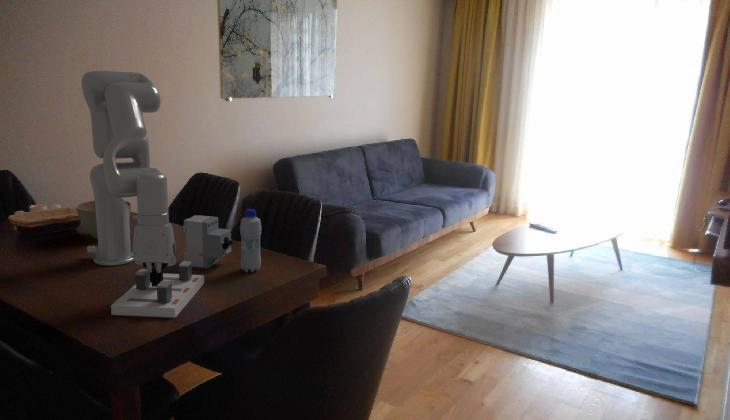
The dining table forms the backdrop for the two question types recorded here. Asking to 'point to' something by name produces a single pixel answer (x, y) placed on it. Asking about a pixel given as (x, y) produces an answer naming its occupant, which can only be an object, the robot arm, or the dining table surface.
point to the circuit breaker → (205, 241)
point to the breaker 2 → (185, 270)
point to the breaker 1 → (164, 291)
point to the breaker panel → (146, 300)
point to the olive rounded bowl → (91, 216)
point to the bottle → (250, 241)
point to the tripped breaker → (142, 279)
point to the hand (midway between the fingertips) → (156, 284)
